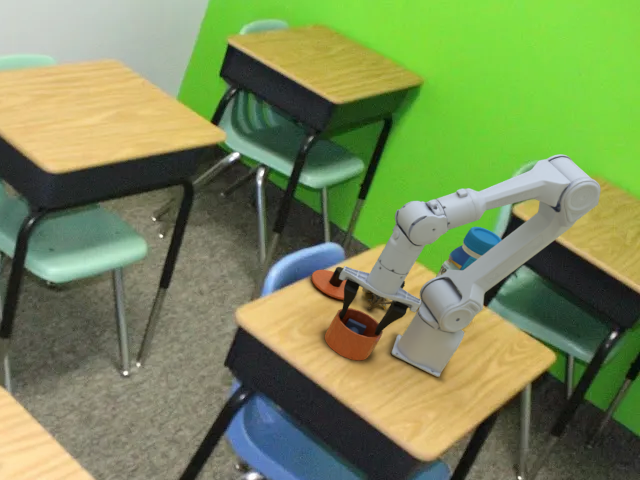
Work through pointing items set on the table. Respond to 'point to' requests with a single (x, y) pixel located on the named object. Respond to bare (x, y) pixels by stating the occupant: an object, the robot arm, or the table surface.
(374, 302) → the eagle figurine
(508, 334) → the table surface
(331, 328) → the pot
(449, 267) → the beverage bottle
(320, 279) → the lid
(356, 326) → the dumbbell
